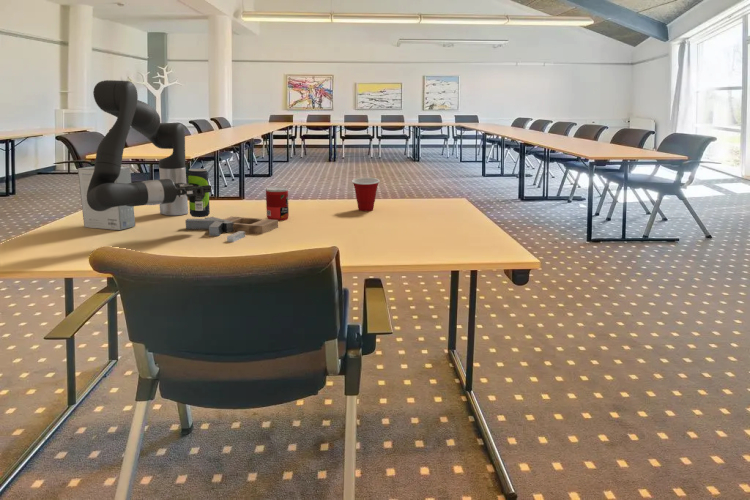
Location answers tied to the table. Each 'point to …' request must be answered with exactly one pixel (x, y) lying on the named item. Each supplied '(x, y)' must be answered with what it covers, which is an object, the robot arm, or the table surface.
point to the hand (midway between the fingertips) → (205, 187)
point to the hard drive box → (111, 217)
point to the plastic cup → (365, 192)
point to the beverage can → (198, 202)
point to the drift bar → (236, 236)
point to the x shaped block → (210, 225)
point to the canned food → (277, 203)
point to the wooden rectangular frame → (252, 224)
